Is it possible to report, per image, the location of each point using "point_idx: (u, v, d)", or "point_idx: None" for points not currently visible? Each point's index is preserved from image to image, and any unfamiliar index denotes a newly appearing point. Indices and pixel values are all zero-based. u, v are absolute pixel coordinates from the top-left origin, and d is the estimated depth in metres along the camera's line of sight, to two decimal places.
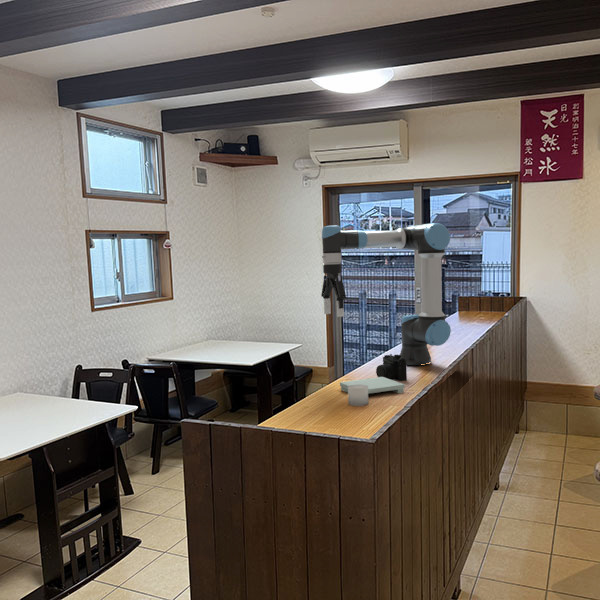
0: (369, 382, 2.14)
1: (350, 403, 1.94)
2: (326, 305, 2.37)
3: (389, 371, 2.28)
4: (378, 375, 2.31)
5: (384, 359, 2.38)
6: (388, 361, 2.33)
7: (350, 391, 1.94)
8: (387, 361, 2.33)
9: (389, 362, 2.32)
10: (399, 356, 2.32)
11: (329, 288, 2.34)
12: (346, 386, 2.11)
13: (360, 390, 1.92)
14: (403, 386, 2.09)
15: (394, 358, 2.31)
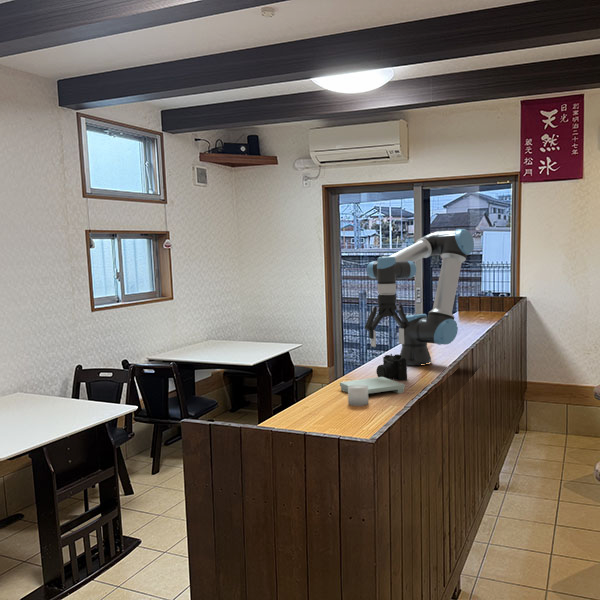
0: (369, 382, 2.14)
1: (350, 403, 1.94)
2: (399, 334, 2.35)
3: (390, 371, 2.28)
4: (378, 375, 2.31)
5: (384, 359, 2.38)
6: (388, 361, 2.33)
7: (350, 391, 1.94)
8: (387, 361, 2.33)
9: (389, 362, 2.32)
10: (399, 356, 2.33)
11: (395, 318, 2.33)
12: (346, 386, 2.11)
13: (360, 390, 1.92)
14: (403, 386, 2.09)
15: (394, 358, 2.31)
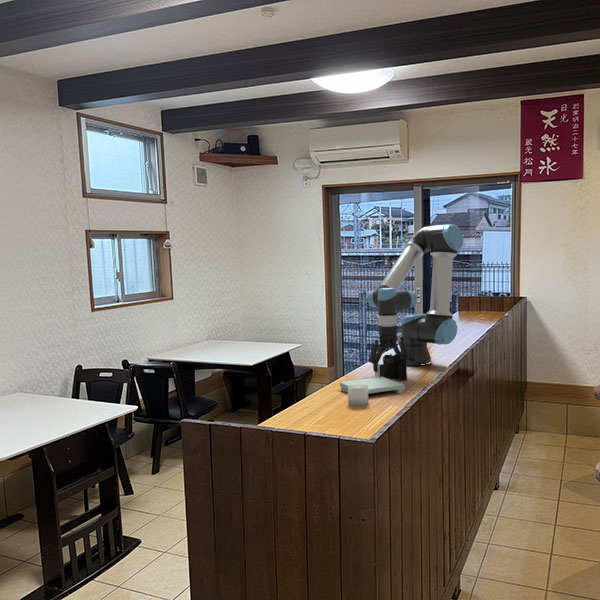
0: (369, 382, 2.14)
1: (350, 403, 1.94)
2: None
3: (390, 371, 2.28)
4: None
5: (384, 359, 2.38)
6: (388, 361, 2.33)
7: (350, 391, 1.94)
8: (387, 361, 2.33)
9: (389, 362, 2.32)
10: (399, 356, 2.33)
11: (395, 349, 2.34)
12: (346, 386, 2.11)
13: (360, 390, 1.92)
14: (403, 386, 2.09)
15: (394, 358, 2.31)
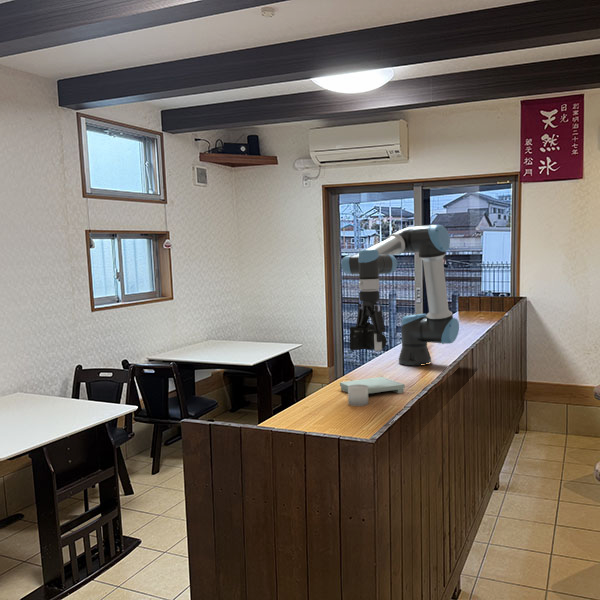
0: (369, 382, 2.14)
1: (350, 403, 1.94)
2: None
3: None
4: None
5: (356, 331, 2.11)
6: (370, 330, 2.12)
7: (350, 391, 1.94)
8: (368, 330, 2.11)
9: (372, 330, 2.12)
10: None
11: (365, 317, 2.14)
12: (346, 386, 2.11)
13: (360, 390, 1.92)
14: (403, 386, 2.09)
15: None
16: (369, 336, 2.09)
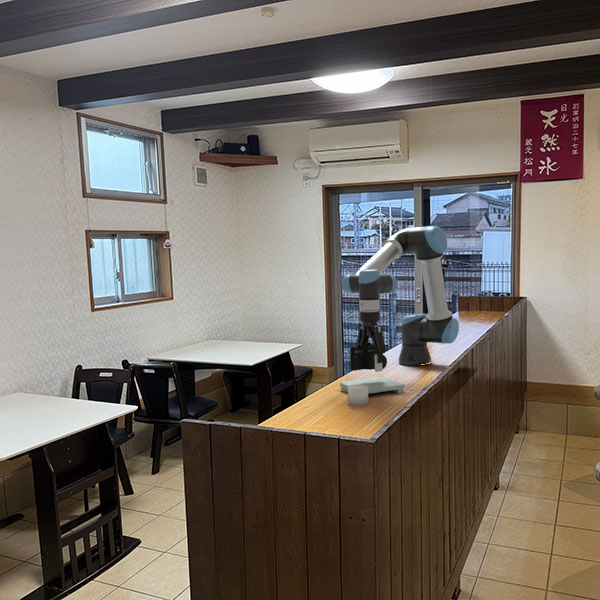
0: (369, 382, 2.14)
1: (350, 403, 1.94)
2: None
3: None
4: None
5: (356, 351, 2.11)
6: (371, 350, 2.12)
7: (350, 391, 1.94)
8: (369, 350, 2.11)
9: (372, 350, 2.12)
10: None
11: (366, 338, 2.14)
12: (346, 386, 2.11)
13: (360, 390, 1.92)
14: (403, 386, 2.09)
15: None
16: (369, 357, 2.10)
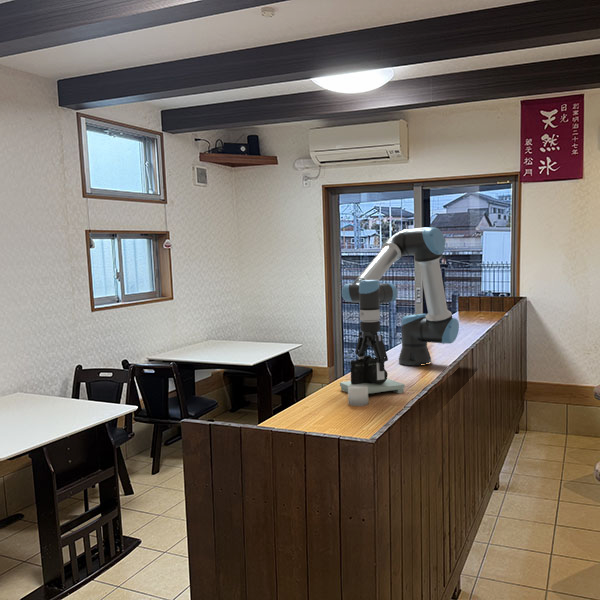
0: None
1: (350, 403, 1.94)
2: None
3: None
4: (378, 380, 2.08)
5: (356, 365, 2.11)
6: (371, 363, 2.12)
7: (350, 391, 1.94)
8: (369, 364, 2.12)
9: (373, 364, 2.13)
10: None
11: (365, 346, 2.15)
12: (346, 386, 2.11)
13: (360, 390, 1.92)
14: (403, 386, 2.09)
15: None
16: (370, 370, 2.10)
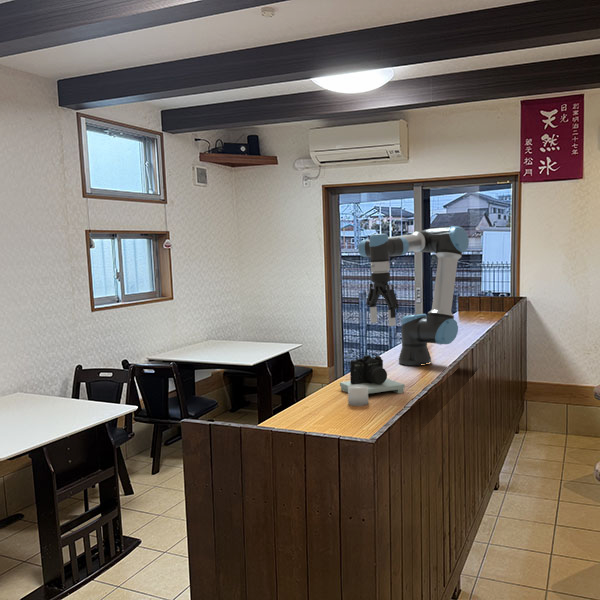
0: None
1: (350, 403, 1.94)
2: (372, 313, 2.33)
3: None
4: (378, 380, 2.08)
5: (356, 365, 2.12)
6: (371, 363, 2.12)
7: (350, 391, 1.94)
8: (369, 364, 2.12)
9: (372, 364, 2.13)
10: None
11: (376, 296, 2.30)
12: (346, 386, 2.11)
13: (360, 390, 1.92)
14: (403, 386, 2.09)
15: None
16: (370, 370, 2.10)
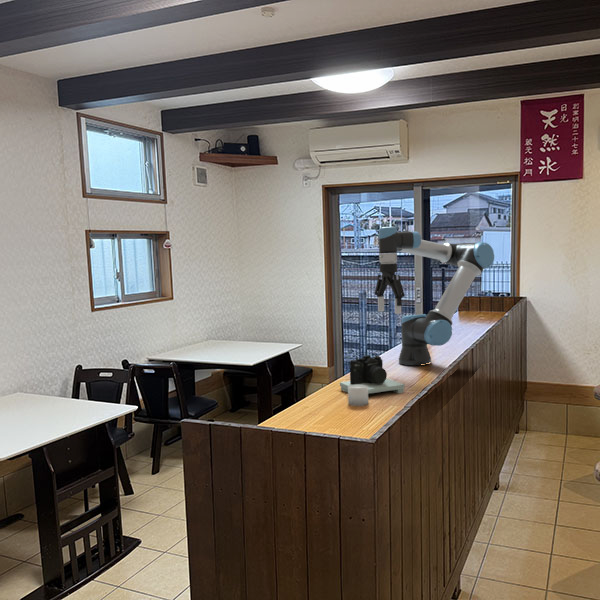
0: None
1: (350, 403, 1.94)
2: (380, 303, 2.46)
3: None
4: (377, 380, 2.08)
5: (356, 365, 2.12)
6: (370, 363, 2.13)
7: (350, 391, 1.94)
8: (369, 364, 2.12)
9: (372, 364, 2.13)
10: None
11: (384, 287, 2.44)
12: (346, 386, 2.11)
13: (360, 390, 1.92)
14: (403, 386, 2.09)
15: None
16: (369, 370, 2.10)
